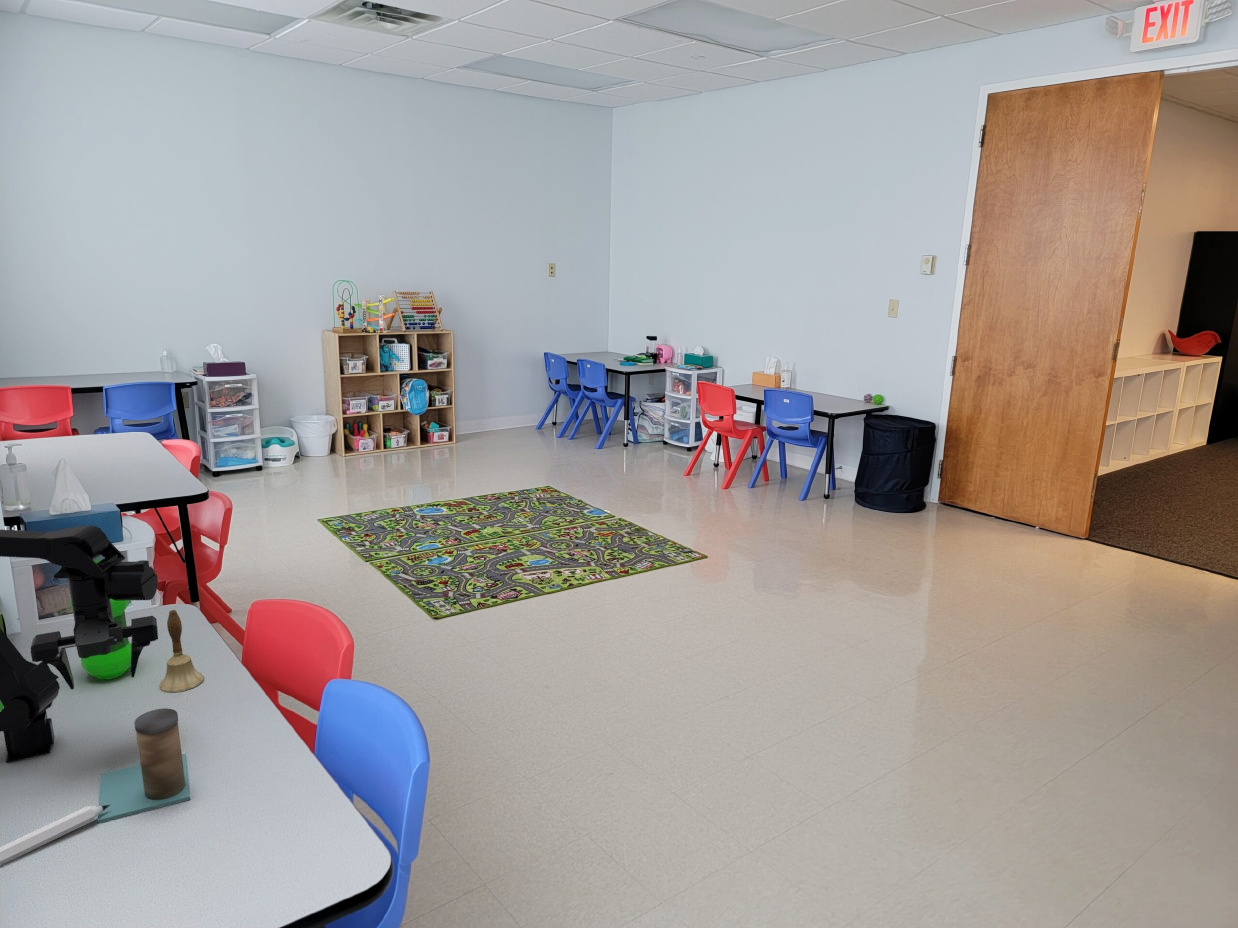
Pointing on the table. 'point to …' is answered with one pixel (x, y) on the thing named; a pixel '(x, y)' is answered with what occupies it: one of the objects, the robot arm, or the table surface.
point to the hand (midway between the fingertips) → (103, 682)
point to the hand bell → (179, 662)
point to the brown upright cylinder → (160, 753)
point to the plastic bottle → (120, 653)
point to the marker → (49, 833)
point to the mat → (132, 793)
